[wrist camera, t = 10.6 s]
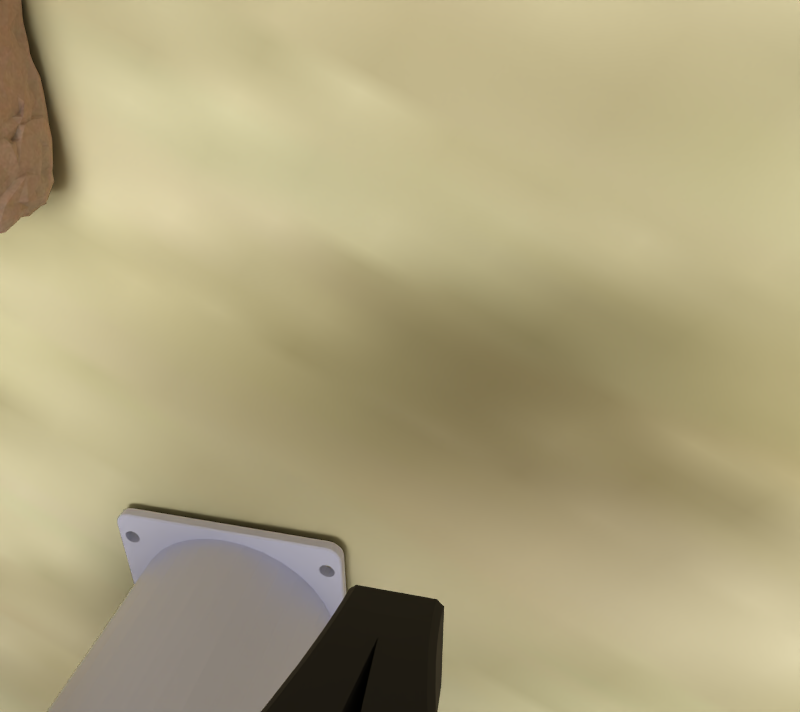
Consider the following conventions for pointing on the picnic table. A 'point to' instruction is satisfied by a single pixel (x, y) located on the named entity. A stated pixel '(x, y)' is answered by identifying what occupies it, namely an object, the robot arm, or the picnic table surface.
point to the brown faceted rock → (21, 124)
